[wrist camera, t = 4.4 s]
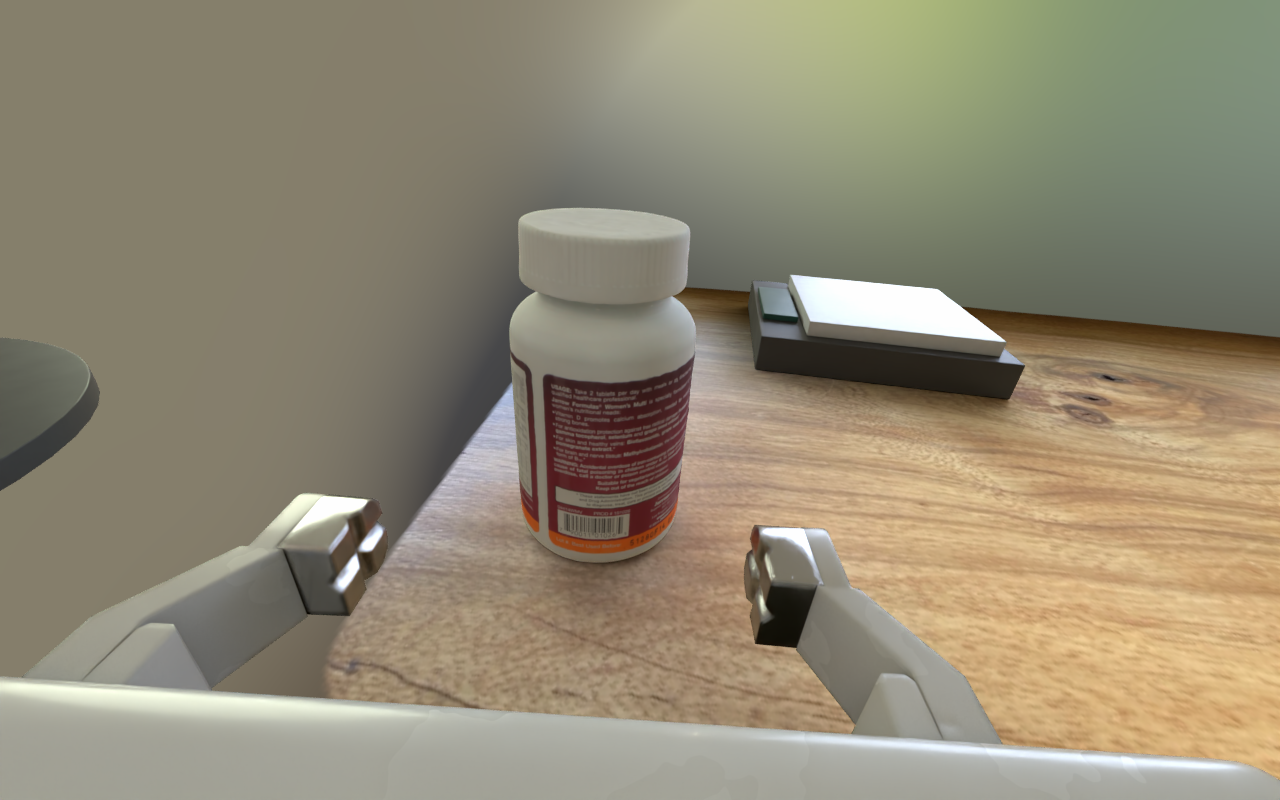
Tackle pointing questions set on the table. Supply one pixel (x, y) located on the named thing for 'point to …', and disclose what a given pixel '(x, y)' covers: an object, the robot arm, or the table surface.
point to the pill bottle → (601, 378)
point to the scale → (877, 336)
